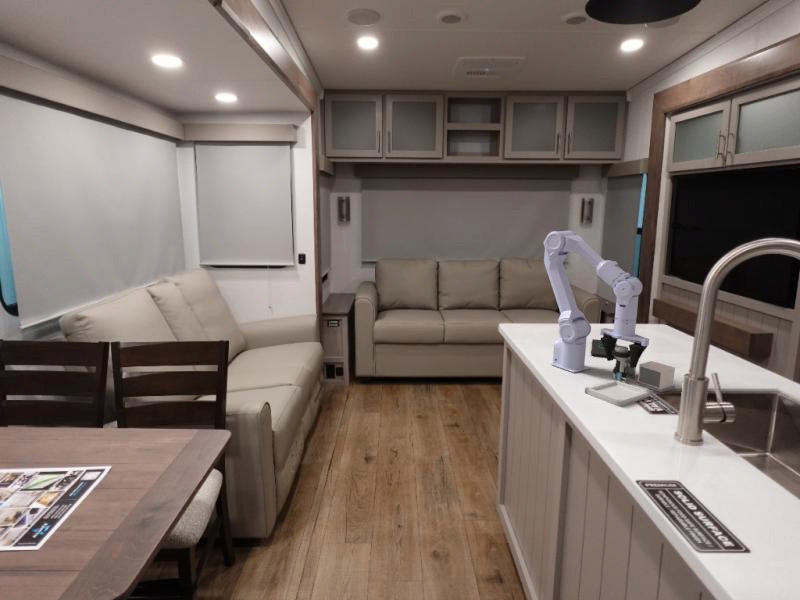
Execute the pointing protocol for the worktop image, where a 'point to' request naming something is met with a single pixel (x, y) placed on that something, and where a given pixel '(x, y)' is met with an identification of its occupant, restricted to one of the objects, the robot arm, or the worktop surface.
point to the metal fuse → (629, 370)
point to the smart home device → (598, 349)
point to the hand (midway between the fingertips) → (621, 363)
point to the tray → (617, 392)
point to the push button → (620, 362)
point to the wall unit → (656, 376)
